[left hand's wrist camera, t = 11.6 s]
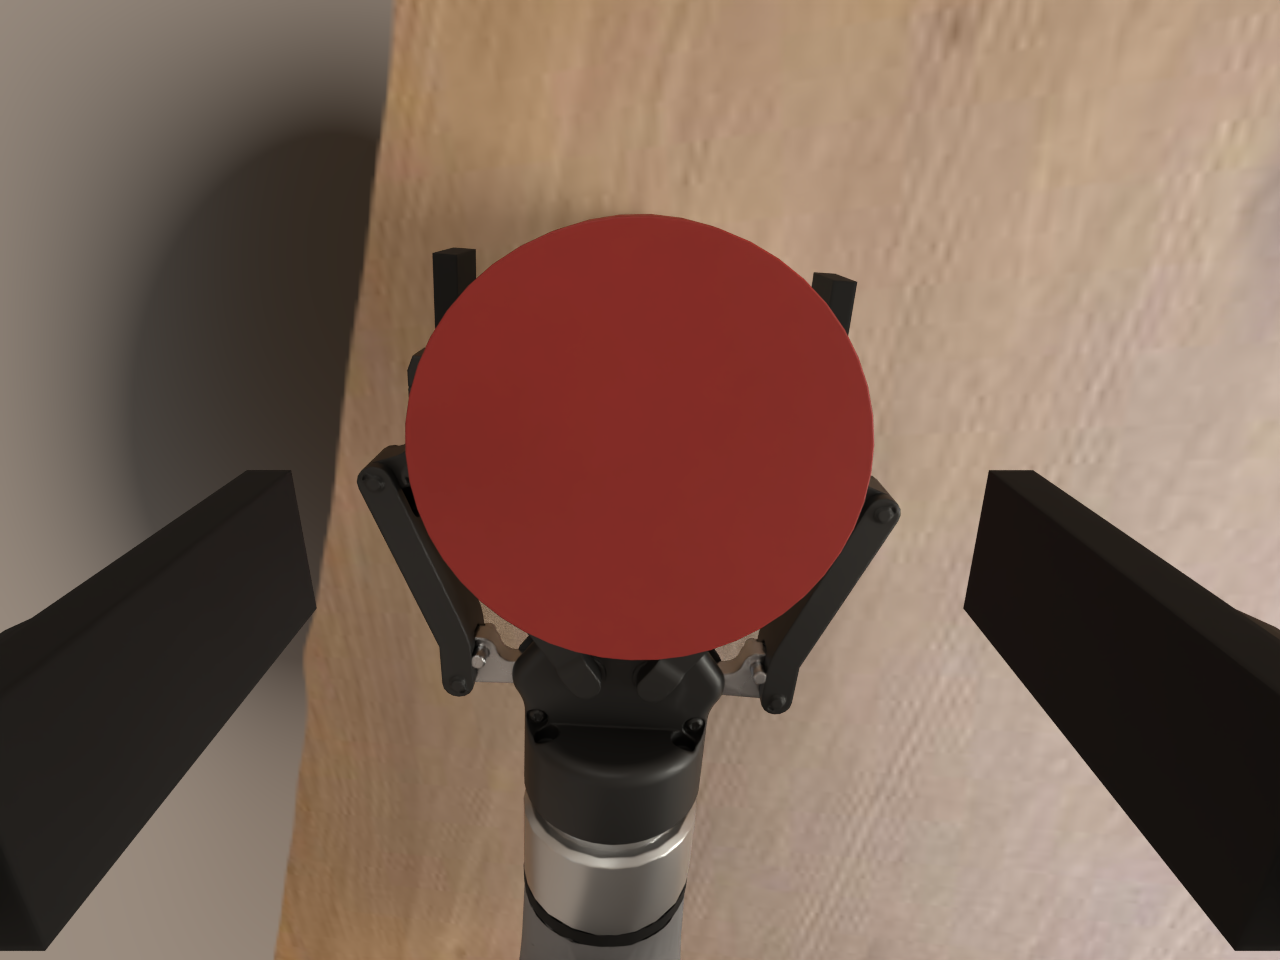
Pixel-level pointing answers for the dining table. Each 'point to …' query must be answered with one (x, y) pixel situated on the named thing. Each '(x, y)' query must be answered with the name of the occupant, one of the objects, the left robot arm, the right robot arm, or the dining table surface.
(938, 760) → the dining table surface
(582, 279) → the lid
